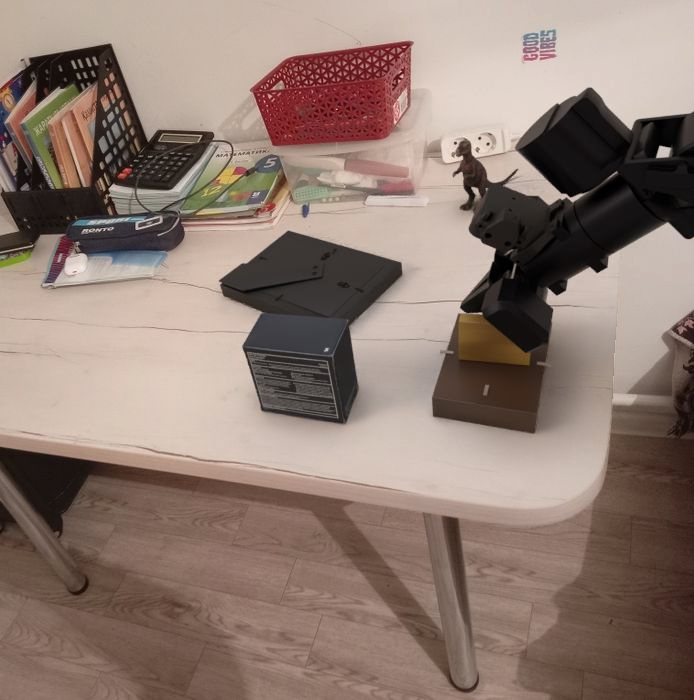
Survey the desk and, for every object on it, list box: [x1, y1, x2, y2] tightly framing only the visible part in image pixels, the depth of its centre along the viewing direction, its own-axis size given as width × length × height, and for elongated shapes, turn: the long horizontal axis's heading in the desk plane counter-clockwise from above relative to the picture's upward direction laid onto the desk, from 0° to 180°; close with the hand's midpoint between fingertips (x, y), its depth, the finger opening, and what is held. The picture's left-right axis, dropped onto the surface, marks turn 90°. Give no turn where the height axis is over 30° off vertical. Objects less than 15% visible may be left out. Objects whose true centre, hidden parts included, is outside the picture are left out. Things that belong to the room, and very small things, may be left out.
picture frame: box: [218, 230, 403, 326], centre depth 89 cm, size 16×3×21 cm
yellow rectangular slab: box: [459, 312, 531, 365], centre depth 65 cm, size 7×1×6 cm, turn 67°
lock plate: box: [431, 312, 553, 434], centre depth 68 cm, size 14×11×3 cm
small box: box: [241, 312, 360, 425], centre depth 70 cm, size 11×6×10 cm, turn 65°
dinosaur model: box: [452, 139, 520, 213], centre depth 92 cm, size 4×12×15 cm
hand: (463, 308), depth 67 cm, fingers closed
